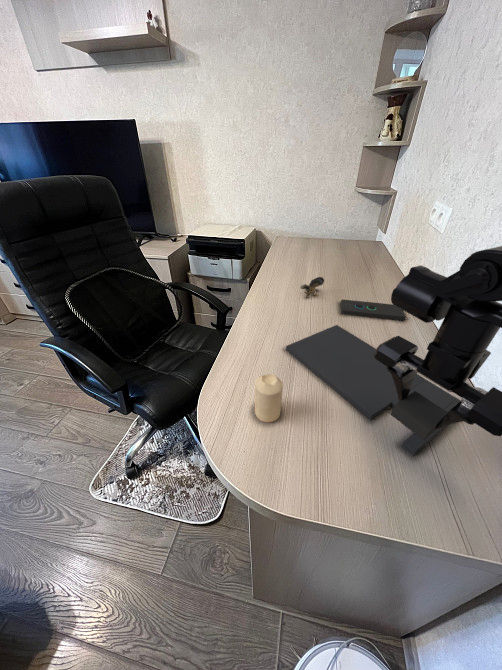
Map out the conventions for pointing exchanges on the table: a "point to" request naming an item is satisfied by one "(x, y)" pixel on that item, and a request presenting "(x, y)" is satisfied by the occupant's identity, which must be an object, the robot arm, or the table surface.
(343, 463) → the table surface
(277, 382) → the candle
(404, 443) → the mat
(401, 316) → the smart home device
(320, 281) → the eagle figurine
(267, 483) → the table surface
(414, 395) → the black block
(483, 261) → the robot arm
